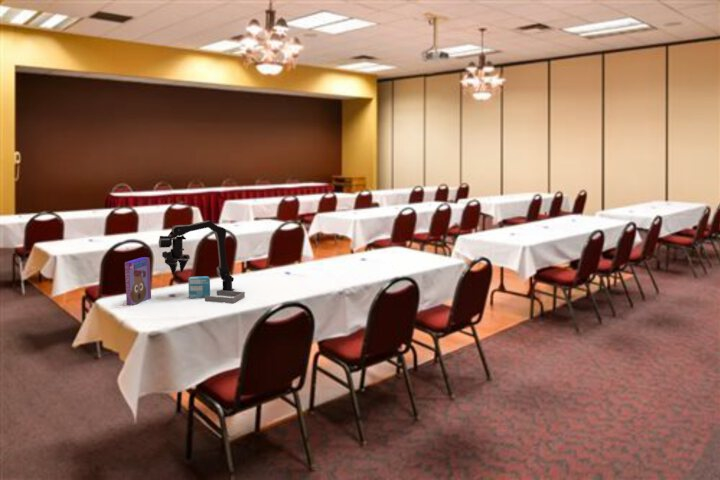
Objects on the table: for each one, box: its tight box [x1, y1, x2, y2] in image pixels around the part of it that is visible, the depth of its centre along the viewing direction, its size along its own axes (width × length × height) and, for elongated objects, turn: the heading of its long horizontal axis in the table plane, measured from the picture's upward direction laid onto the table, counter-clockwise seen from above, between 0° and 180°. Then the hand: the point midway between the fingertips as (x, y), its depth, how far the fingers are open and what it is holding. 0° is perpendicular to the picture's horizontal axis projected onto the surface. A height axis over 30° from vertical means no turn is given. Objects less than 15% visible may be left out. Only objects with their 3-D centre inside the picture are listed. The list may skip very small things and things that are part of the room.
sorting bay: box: [204, 289, 246, 304], centre depth 351 cm, size 15×18×3 cm
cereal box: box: [124, 256, 152, 306], centre depth 343 cm, size 17×5×24 cm, turn 168°
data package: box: [187, 275, 211, 299], centre depth 355 cm, size 12×4×12 cm, turn 107°
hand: (177, 273), depth 356 cm, fingers open, 9 cm apart
